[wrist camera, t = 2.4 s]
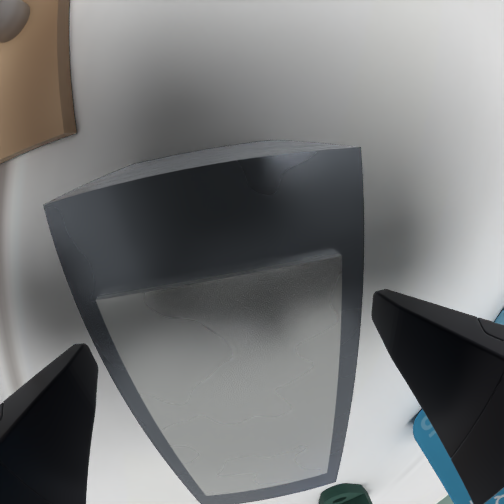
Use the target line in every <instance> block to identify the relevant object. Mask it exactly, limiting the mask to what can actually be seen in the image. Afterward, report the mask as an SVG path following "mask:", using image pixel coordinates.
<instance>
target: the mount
mask: <svg viewBox="0 0 504 504" xmlns="http://www.w3.org/2000/svg"><path fill="white" fill-rule="evenodd" d="M319 504H372V502H371V499H370V497H369V495H368V493H367V491H366V490H365V489H364V488H363V486H362V485H359V484H347V483H344V484H339V485H336V486H333V487H330V488H328V489H326V490H325V491H323V492H322V493H321V496H320V500H319Z"/></svg>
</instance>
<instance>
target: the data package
mask: <svg viewBox="0 0 504 504" xmlns="http://www.w3.org/2000/svg"><path fill="white" fill-rule="evenodd" d="M495 323H498V324H502V325H504V310H503V311H502V312H501V313H500V314H499V316H498V317H497V319H496V320H495ZM413 434H414V438H415V440H416V441H417V443H418V445H419V446H420V448H421V450H422V451H423V453H424V454H425V456H426V458H427V459H428V461H429V463H430V464H431V466H432V467H433V469H434V471H435V472H436V474H437V476H438V477H439V479H440V481H441V482H442V484H443V486H444V487H445V489H446V491H447V492H448V494H449V496H450V497H451V499H452V501H453V502H454V504H473V502H472V500H471V498H470V496H469V494H468V492H467V490H466V488H465V486H464V484H463V482H462V480H461V478H460V476H459V474H458V472H457V470H456V468H455V466H454V465H453V463H452V461H451V458H450V457H449V455H448V453H447V451H446V449H445V448H444V446H443V444H442V442H441V440H440V439H439V437H438V435H437V433H436V431H435V430H434V428H433V426H432V424H431V423H430V421H429V419H428V418H427V416H426V414H425V412H424V411H423V409H422V410H421V411H420V412H419V414H418V415H417V417H416V419H415V421H414V425H413ZM484 504H504V488H503V489H502V490H501V491H500V492H498V493H497V494H496V495H495V496H493V497H492V498H491V499H490V500H488V501H487V502H486V503H484Z"/></svg>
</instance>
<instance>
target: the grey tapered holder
mask: <svg viewBox="0 0 504 504" xmlns="http://www.w3.org/2000/svg"><path fill="white" fill-rule="evenodd" d="M43 206H44V209H45V213H46V217H47V221H48V224H49V228H50V231H51V235H52V238H53V241H54V244H55V248H56V251H57V254H58V257H59V260H60V263H61V266H62V268H63V271H64V274H65V277H66V279H67V282H68V285H69V287H70V290H71V292H72V295H73V297H74V300H75V302H76V305H77V307H78V310H79V312H80V314H81V317H82V319H83V321H84V323H85V326H86V328H87V330H88V332H89V334H90V336H91V339H92V341H93V343H94V345H95V347H96V349H97V351H98V353H99V355H100V357H101V359H102V361H103V363H104V365H105V366H106V368H107V370H108V372H109V374H110V376H111V378H112V379H113V381H114V383H115V385H116V386H117V388H118V390H119V392H120V393H121V395H122V397H123V398H124V400H125V402H126V403H127V405H128V407H129V408H130V410H131V412H132V413H133V415H134V416H135V418H136V419H137V421H138V422H139V424H140V426H141V427H142V429H143V430H144V432H145V433H146V434H147V436H148V437H149V439H150V440H151V442H152V443H153V445H154V446H155V447H156V449H157V450H158V452H159V453H160V454H161V456H162V457H163V458H164V460H165V461H166V462H167V464H168V465H169V466H170V468H171V469H172V470H173V471H174V473H175V474H176V475H177V476H178V478H179V479H180V480H181V481H182V483H183V484H184V485H185V486H186V487H187V489H188V490H189V491H190V492H191V493H192V494H193V496H194V497H195V498H196V499H197V500H198V501H199V502H200V503H201V504H240V503H247V502H253V501H259V500H265V499H270V498H275V497H280V496H285V495H289V494H293V493H298V492H302V491H306V490H309V489H313V488H317V487H320V486H324V485H327V484H330V483H334V482H336V479H337V475H338V470H339V466H340V461H341V457H342V452H343V447H344V442H345V437H346V432H347V426H348V420H349V415H350V408H351V402H352V395H353V388H354V381H355V373H356V365H357V356H358V347H359V336H360V324H361V311H362V294H363V270H364V198H363V175H362V158H361V147H355V146H346V145H336V144H326V143H314V142H300V141H283V140H267V141H259V142H251V143H243V144H236V145H230V146H223V147H217V148H211V149H205V150H199V151H194V152H188V153H183V154H178V155H173V156H168V157H163V158H159V159H154V160H150V161H145V162H141V163H137V164H132V165H130V166H127V167H125V168H122V169H120V170H118V171H115V172H113V173H110V174H108V175H106V176H103V177H101V178H99V179H96V180H94V181H92V182H90V183H87V184H85V185H83V186H81V187H79V188H77V189H74V190H72V191H70V192H68V193H66V194H64V195H62V196H60V197H58V198H56V199H54V200H52V201H50V202H48V203H46V204H44V205H43Z"/></svg>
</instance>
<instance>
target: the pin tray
mask: <svg viewBox="0 0 504 504" xmlns="http://www.w3.org/2000/svg"><path fill="white" fill-rule="evenodd" d="M69 1H70V0H0V164H1V163H3V162H5V161H7V160H9V159H12V158H14V157H16V156H18V155H21V154H23V153H25V152H28V151H30V150H33V149H35V148H38V147H40V146H43V145H45V144H48V143H50V142H53V141H56V140H59V139H61V138H64V137H67V136H70V135H73V134H76V133H77V131H76V124H75V116H74V108H73V99H72V88H71V76H70V59H69Z"/></svg>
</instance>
